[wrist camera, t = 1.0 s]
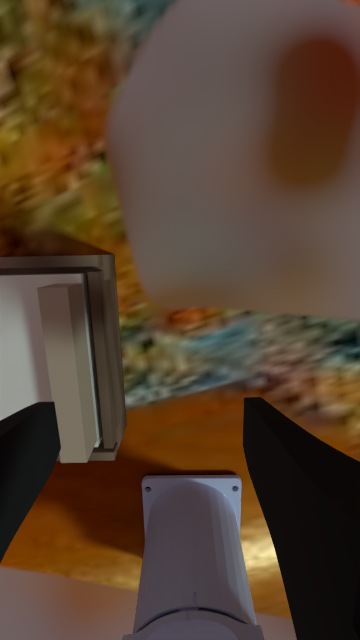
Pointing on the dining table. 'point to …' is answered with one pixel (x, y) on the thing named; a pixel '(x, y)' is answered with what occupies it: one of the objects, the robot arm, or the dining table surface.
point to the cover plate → (50, 355)
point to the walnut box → (103, 333)
